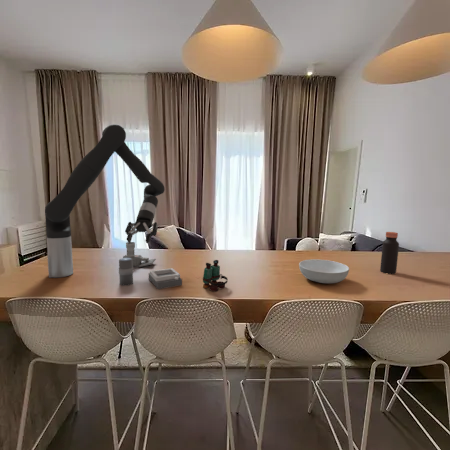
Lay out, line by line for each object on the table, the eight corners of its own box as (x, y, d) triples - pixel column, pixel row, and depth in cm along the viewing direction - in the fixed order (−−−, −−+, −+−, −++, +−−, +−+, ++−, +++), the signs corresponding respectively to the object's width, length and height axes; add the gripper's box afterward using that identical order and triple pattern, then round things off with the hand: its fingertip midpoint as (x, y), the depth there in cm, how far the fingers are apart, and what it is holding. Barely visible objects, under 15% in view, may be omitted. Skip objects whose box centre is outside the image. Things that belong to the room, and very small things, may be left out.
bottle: (396, 271, 135) (400, 232, 132) (395, 275, 129) (400, 234, 126) (380, 269, 138) (384, 231, 136) (379, 272, 133) (383, 232, 130)
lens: (120, 286, 108) (119, 261, 106) (118, 282, 112) (117, 258, 111) (134, 284, 110) (134, 259, 109) (132, 280, 115) (131, 256, 114)
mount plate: (157, 289, 105) (157, 279, 105) (148, 278, 117) (148, 269, 117) (181, 285, 110) (181, 275, 110) (170, 275, 122) (170, 266, 122)
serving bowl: (289, 275, 126) (289, 261, 125) (325, 271, 134) (326, 257, 133) (319, 291, 107) (320, 274, 106) (359, 285, 114) (360, 269, 113)
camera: (126, 241, 140) (155, 241, 141) (126, 263, 142) (155, 263, 142) (120, 244, 132) (151, 245, 132) (121, 267, 133) (152, 268, 134)
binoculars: (219, 269, 100) (200, 262, 106) (216, 295, 102) (198, 287, 108) (234, 264, 107) (215, 257, 113) (231, 289, 109) (213, 281, 115)
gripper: (129, 208, 129) (119, 237, 119) (158, 209, 127) (150, 237, 118) (135, 218, 135) (125, 246, 125) (162, 218, 133) (155, 246, 124)
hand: (137, 241), depth 121 cm, fingers open, 8 cm apart
